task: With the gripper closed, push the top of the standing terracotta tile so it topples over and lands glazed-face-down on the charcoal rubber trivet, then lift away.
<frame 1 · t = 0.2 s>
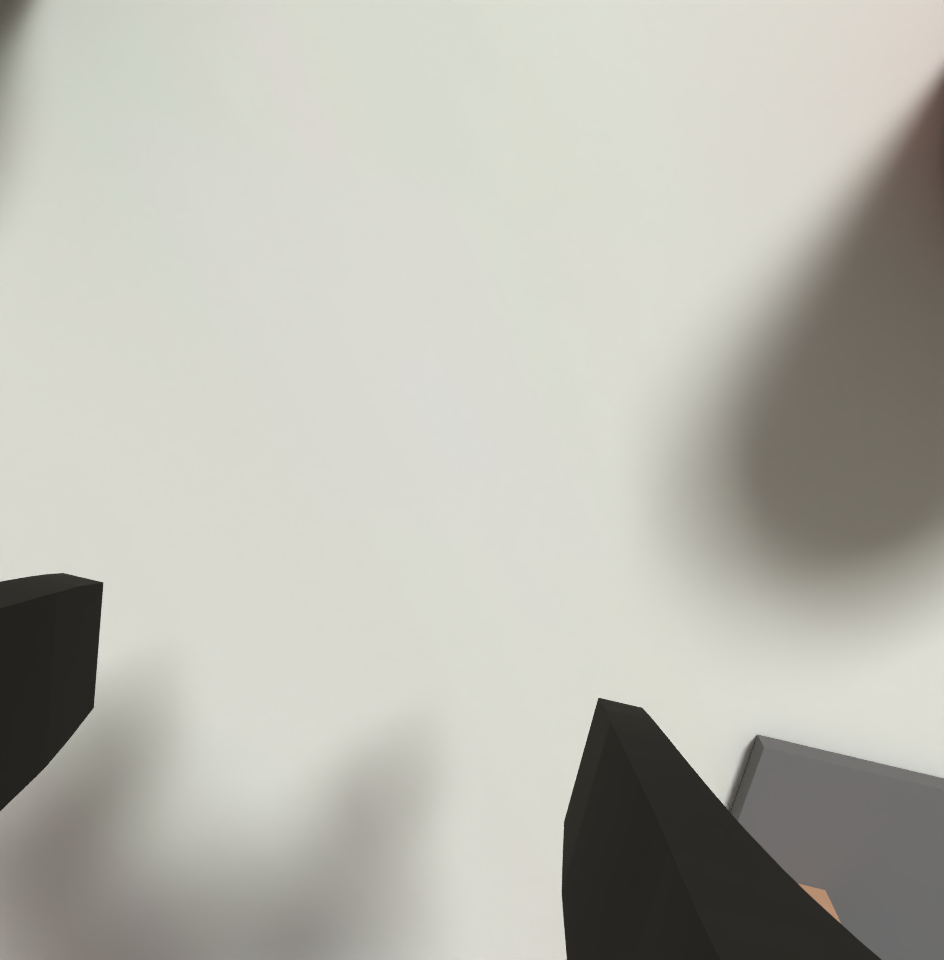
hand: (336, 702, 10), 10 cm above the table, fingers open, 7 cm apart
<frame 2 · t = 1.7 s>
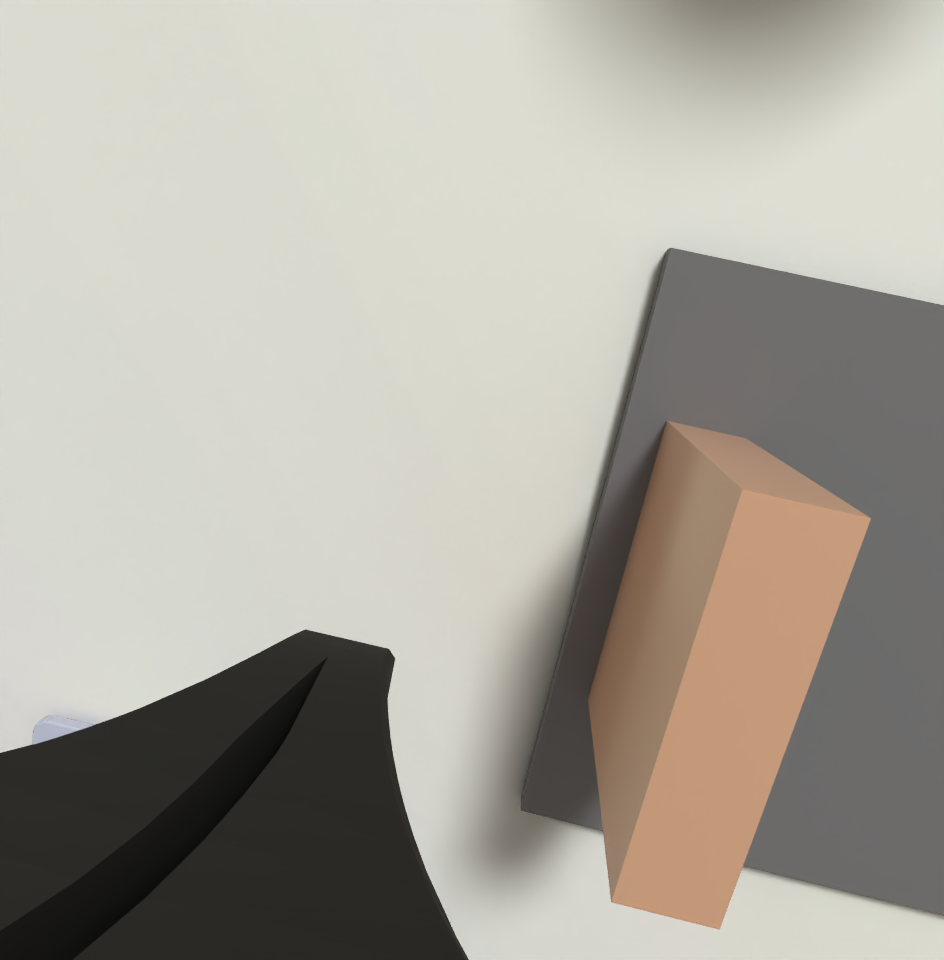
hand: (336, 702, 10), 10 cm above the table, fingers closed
trivet: (861, 614, 19), on the table
tile: (662, 575, 19), point 1 cm above the table, touching trivet
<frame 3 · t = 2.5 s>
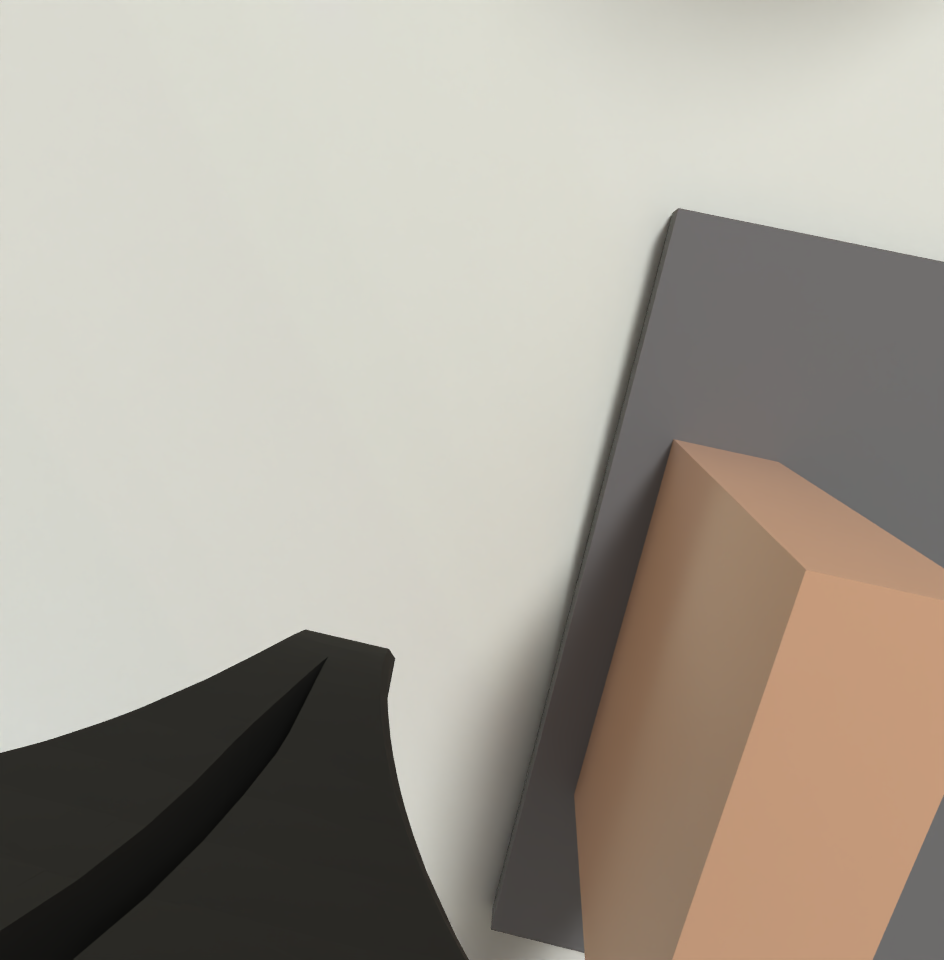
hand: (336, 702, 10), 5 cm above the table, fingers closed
trivet: (926, 687, 15), on the table
tile: (669, 639, 14), point 1 cm above the table, touching trivet
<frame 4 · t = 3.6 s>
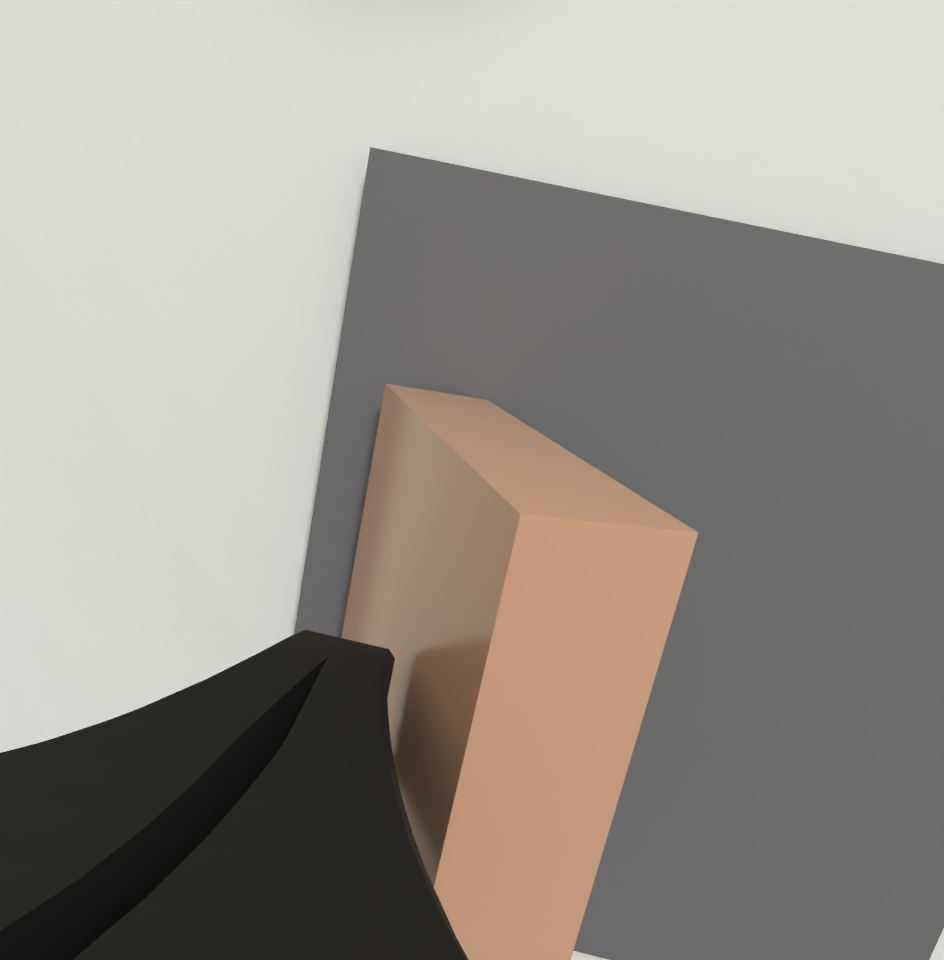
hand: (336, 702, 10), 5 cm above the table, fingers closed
trivet: (658, 626, 15), on the table
tile: (400, 586, 14), point 1 cm above the table, tilted 23°, touching trivet
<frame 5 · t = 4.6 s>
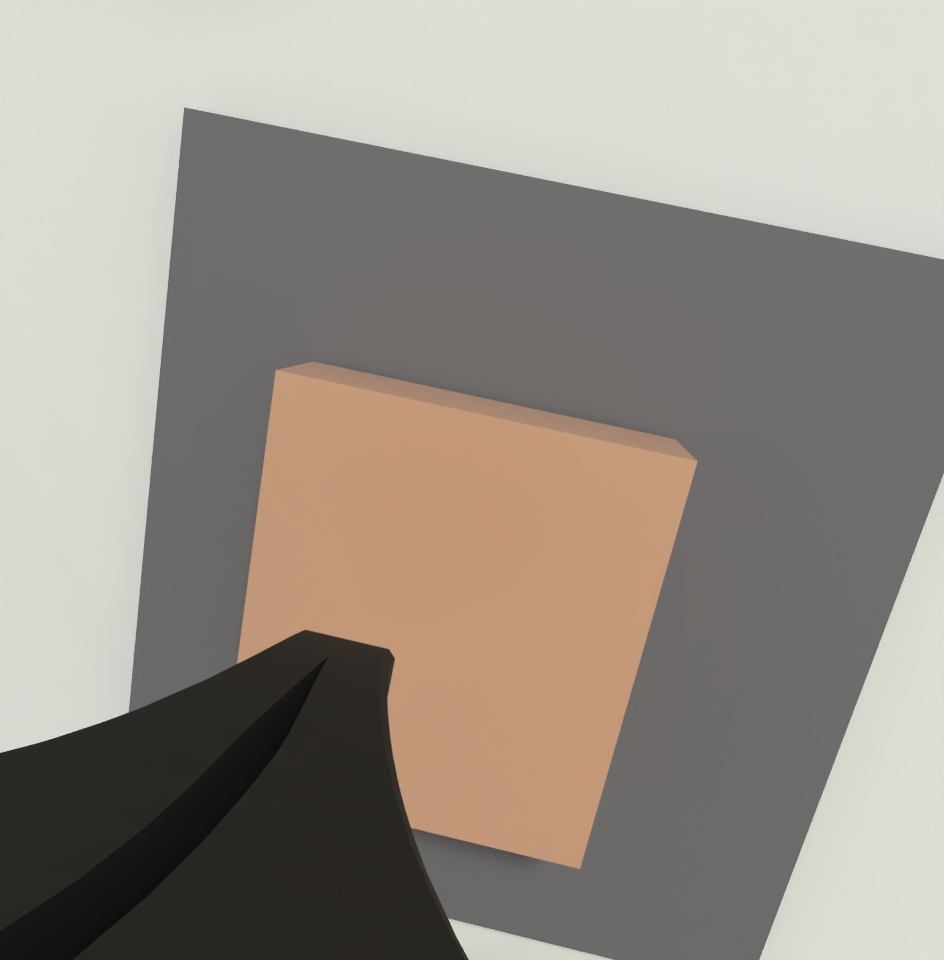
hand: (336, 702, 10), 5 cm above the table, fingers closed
trivet: (498, 588, 15), on the table
tile: (267, 571, 14), point 2 cm above the table, tilted 90°, touching trivet
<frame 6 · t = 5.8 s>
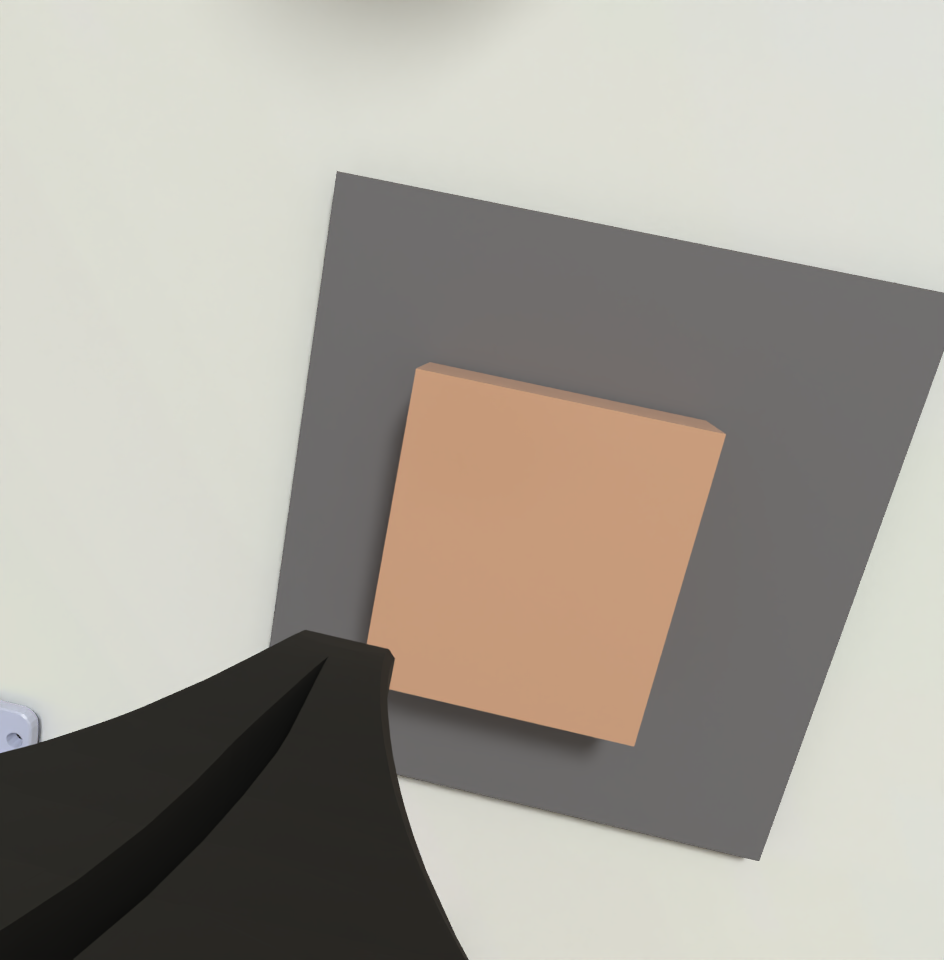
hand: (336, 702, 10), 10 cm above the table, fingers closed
trivet: (565, 538, 19), on the table
tile: (394, 522, 18), point 2 cm above the table, tilted 90°, touching trivet
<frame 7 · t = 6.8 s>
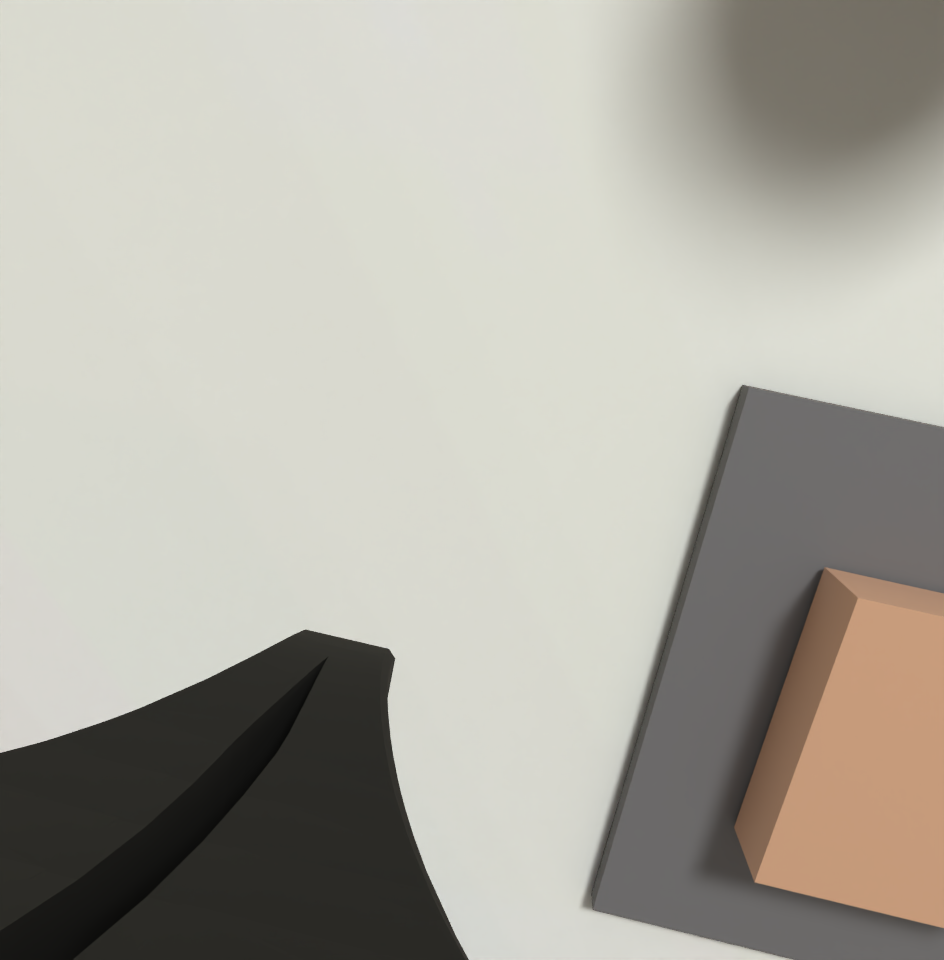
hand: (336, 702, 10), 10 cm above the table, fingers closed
trivet: (927, 726, 20), on the table
tile: (789, 724, 18), point 2 cm above the table, tilted 90°, touching trivet
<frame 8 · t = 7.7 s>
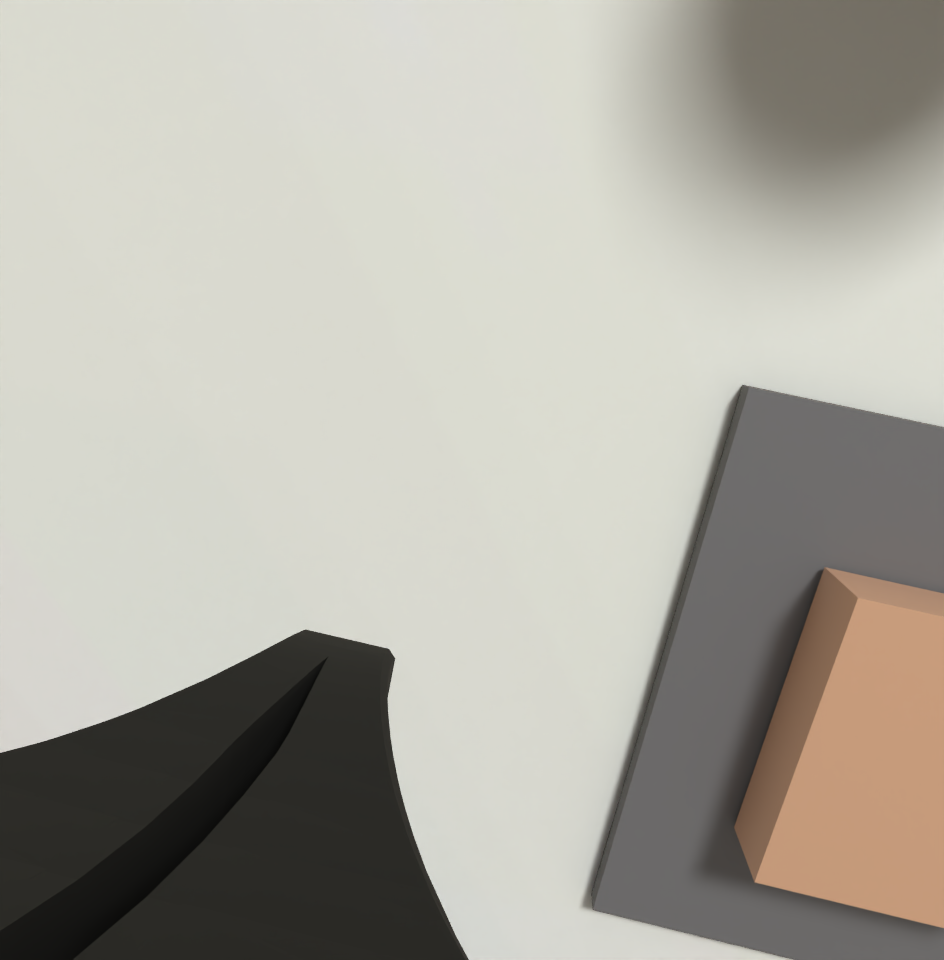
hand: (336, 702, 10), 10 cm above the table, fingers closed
trivet: (927, 726, 20), on the table
tile: (789, 724, 18), point 2 cm above the table, tilted 90°, touching trivet
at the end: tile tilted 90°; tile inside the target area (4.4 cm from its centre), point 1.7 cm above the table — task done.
